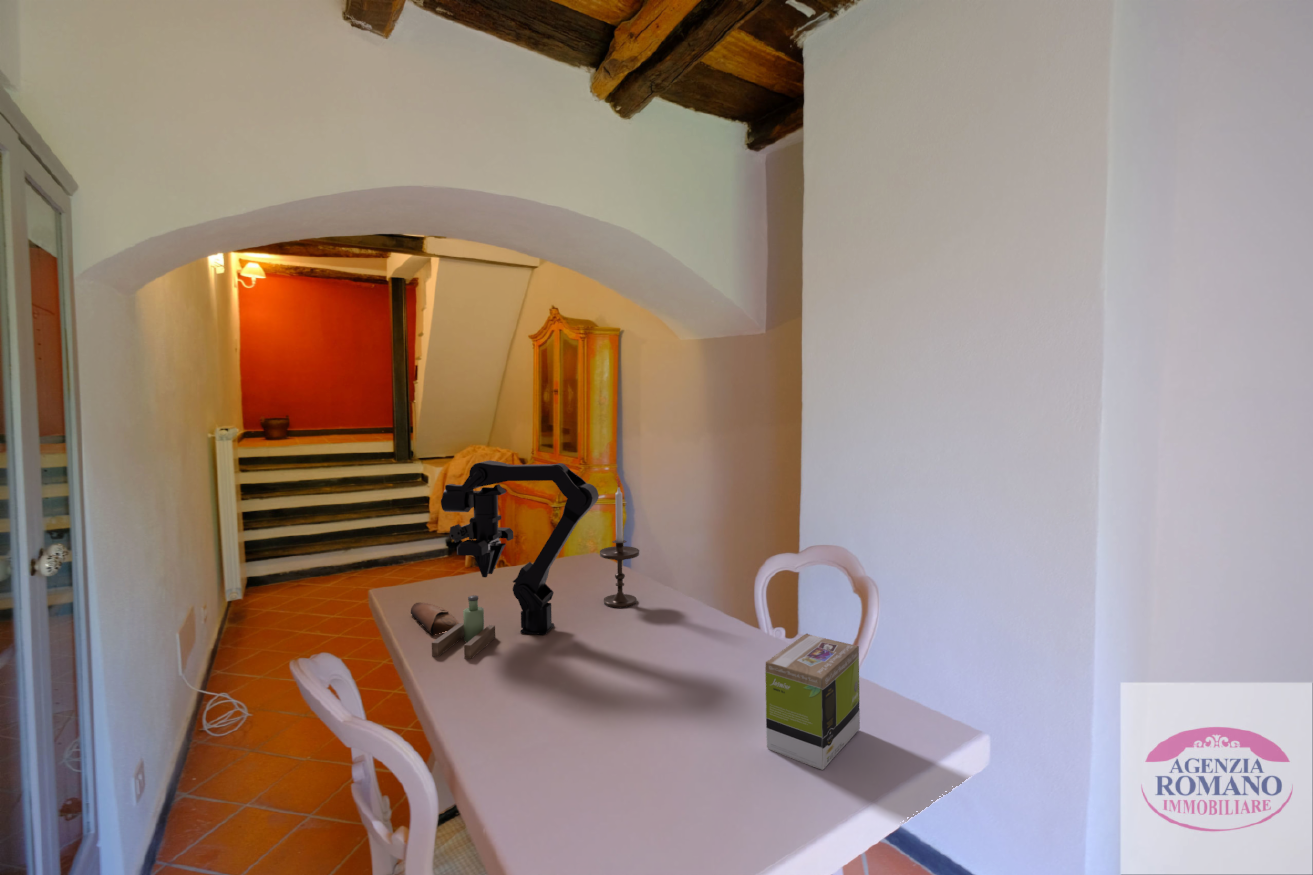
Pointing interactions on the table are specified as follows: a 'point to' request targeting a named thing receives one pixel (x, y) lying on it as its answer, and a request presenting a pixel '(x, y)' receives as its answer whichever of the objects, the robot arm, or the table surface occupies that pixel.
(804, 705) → the tea box
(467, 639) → the bottle
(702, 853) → the table surface
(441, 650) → the cradle
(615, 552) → the candlestick
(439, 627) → the sunglasses case
